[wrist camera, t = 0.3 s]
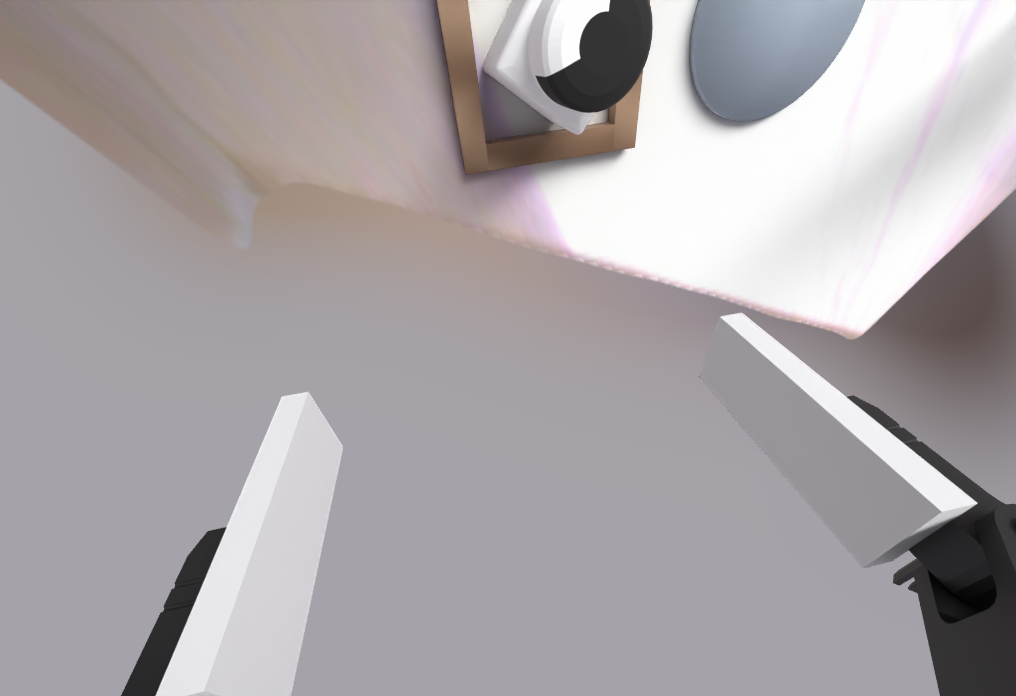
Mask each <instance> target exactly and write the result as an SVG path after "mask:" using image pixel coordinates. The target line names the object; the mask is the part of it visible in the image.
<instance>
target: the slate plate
mask: <svg viewBox="0 0 1016 696" xmlns="http://www.w3.org/2000/svg"><path fill="white" fill-rule="evenodd" d="M864 2H865V0H699V2H698V6H697V9H696V12H695V17H694V21H693V26H692V33H691V41H690V65H691V73H692V78H693V82H694V85H695V88H696V91H697V93H698V95H699V97H700V98H701V100H702V102H703V103H704V104H705V105H706V106H707V108H709V109H710V110H711V111H712V112H713V113H715V114H717V115H719V116H720V117H723V118H726V119H730V120H735V121H753V120H758V119H762V118H765V117H767V116H770V115H773V114H775V113H776V112H778V111H780V110H782V109H784V108H785V107H787V106H788V105H790V104H791V103H793V102H794V101H795V100H797V99H798V98H799V97H800V96H802V95H803V94H804V93H805V92H806V91H807V90H808V89H809V88H810V87H812V86H813V85H814V83H815V82H816V81H817V80H818V79H819V78H820V77H821V76H822V75H823V73H824V72H825V71H826V70H827V68H828V67H829V66H830V65H831V63H832V62H833V61H834V59H835V58H836V56H837V55H838V53H839V52H840V50H841V49H842V47H843V45H844V44H845V42H846V40H847V39H848V37H849V35H850V33H851V31H852V29H853V27H854V25H855V23H856V21H857V19H858V17H859V14H860V12H861V10H862V7H863V5H864Z"/></svg>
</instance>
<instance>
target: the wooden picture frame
mask: <svg viewBox="0 0 1016 696" xmlns="http://www.w3.org/2000/svg"><path fill="white" fill-rule="evenodd" d="M436 2H437V8H438V14H439V20H440V26H441V32H442V38H443V44H444V50H445V56H446V62H447V68H448V74H449V80H450V86H451V92H452V98H453V104H454V110H455V116H456V121H457V127H458V133H459V139H460V145H461V151H462V157H463V163H464V169H465V173H466V175H467V174H473V173H479V172H485V171H492V170H498V169H504V168H510V167H517V166H523V165H529V164H535V163H542V162H548V161H554V160H560V159H567V158H573V157H579V156H585V155H591V154H598V153H604V152H610V151H616V150H623V149H629V148H635V140H636V130H637V121H638V111H639V102H640V92H641V83H642V73H643V70H642V72H641V74H640V76H639V78H638V80H637V81H636V83H635V84H634V86H633V87H632V88H631V90H630V91H629V92H628V93H627V94H626V95H625V96H624V97H623V98H622V99H621V100H620V101H619V102H617V103H616V104H614V105H613V106H611V107H609V111H608V122H606V123H600V124H593V125H587V126H586V127H585V129H584V131H583V132H582V133H581V134H579V135H577V134H574V133H572V132H570V131H568V130H566V129H561V130H554V131H548V132H541V133H535V134H528V135H522V136H515V137H509V138H502V139H496V140H489V141H485V133H484V125H483V118H482V110H481V102H480V94H479V86H478V78H477V71H476V63H475V55H474V47H473V39H472V31H471V24H470V16H469V8H468V0H436ZM649 3H650V0H649Z"/></svg>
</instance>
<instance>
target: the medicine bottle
mask: <svg viewBox="0 0 1016 696" xmlns="http://www.w3.org/2000/svg"><path fill="white" fill-rule="evenodd" d="M651 39H652V13H651V7H650V3H649V0H512V1H511V4H510V6H509V8H508V10H507V13H506V15H505V17H504V19H503V21H502V24H501V26H500V28H499V30H498V33H497V35H496V37H495V39H494V41H493V44H492V46H491V48H490V50H489V53H488V55H487V57H486V59H485V61H484V64H483V69H484V71H485V72H486V73H487V74H489V75H490V76H491V77H493V78H494V79H495V80H497V81H498V82H499V83H501V84H502V85H503V86H504V87H506V88H507V89H508V90H510V91H511V92H512V93H514V94H515V95H516V96H518V97H519V98H520V99H522V100H523V101H524V102H526V103H527V104H528V105H530V106H531V107H532V108H533V109H535V110H536V111H537V112H539V113H540V114H541V115H543V116H544V117H545V118H547V119H548V120H549V121H551V122H552V123H554V124H556V125H558V126H560V127H562V128H564V129H566V130H568V131H570V132H572V133H574V134H577V135H579V134H581V133H582V132H583V131H584V129H585V127H586V126H587V124H588V123H589V121H590V119H591V118H592V116H593V114H594V113H595V112H599V111H602V110H605V109H607V108H609V107H611V106H613V105H614V104H616V103H617V102H619V101H620V100H621V99H622V98H623V97H624V96H625V95H626V94H627V93H628V92H629V91H630V90H631V88H632V87H633V86H634V84H635V83H636V81H637V80H638V78H639V76H640V74H641V72H642V70H643V68H644V66H645V63H646V60H647V58H648V54H649V50H650V46H651Z"/></svg>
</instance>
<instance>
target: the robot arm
mask: <svg viewBox="0 0 1016 696" xmlns="http://www.w3.org/2000/svg"><path fill="white" fill-rule="evenodd" d="M699 378H700V379H701V380H702V381H703V382H704V384H705V385H706V386H707V387H708V388H709V389H710V391H711V392H712V393H713V394H714V395H715V396H716V398H717V399H718V400H719V401H720V402H721V403H722V405H723V406H724V407H725V408H726V409H727V410H728V412H729V413H730V414H731V415H732V416H733V417H734V419H735V420H736V421H737V422H738V423H739V424H740V426H741V427H742V428H743V429H744V430H745V431H746V433H748V435H749V436H750V437H751V438H752V440H753V441H754V442H755V443H756V444H757V445H758V447H759V448H760V449H761V450H762V451H763V452H764V454H765V455H766V456H767V457H768V458H769V459H770V461H771V462H772V463H773V464H774V465H775V466H776V467H777V469H778V470H779V471H780V472H781V473H782V475H783V476H784V477H785V478H786V479H787V480H788V482H789V483H790V484H791V485H792V486H793V487H794V489H795V490H796V491H797V492H798V493H799V494H800V496H801V497H802V498H803V499H804V500H805V501H806V503H807V504H808V505H809V506H810V507H811V508H812V510H813V511H814V512H815V513H816V514H817V515H818V517H819V518H820V519H821V520H822V521H823V522H824V524H825V525H826V526H827V527H828V528H829V529H830V531H831V532H832V533H833V534H834V535H835V536H836V538H837V539H838V540H839V541H840V542H841V543H842V545H843V546H844V547H845V548H846V549H847V550H848V552H849V553H850V554H851V555H852V556H853V557H854V558H855V560H856V561H857V562H858V563H859V564H860V566H861V567H862V568H867V567H871V566H875V565H879V564H882V563H886V562H890V561H893V560H894V559H896V558H897V557H899V556H900V555H902V554H903V553H905V552H906V551H908V550H909V551H910V552H911V553H912V554H913V555H914V556H915V557H916V558H917V559H915V560H914V561H912V562H910V563H909V564H907V565H906V566H904V567H903V568H901V569H900V570H898V571H897V572H896V573H895V574H894V578H893V583H895V584H897V585H901V584H903V583H904V582H906V581H908V580H909V579H911V578H913V577H914V579H915V581H914V582H913V583H911V584H910V586H909V587H908V589H909V590H911V591H914V592H916V593H918V597H919V601H920V606H921V611H922V615H923V620H924V625H925V629H926V634H927V638H928V642H929V647H930V652H931V656H932V661H933V665H934V670H935V675H936V679H937V684H938V688H939V693H940V696H1016V504H1007V505H1006V504H1004V503H1002V502H1001V501H999V500H997V499H996V498H995V497H993V496H992V495H990V494H988V493H987V492H986V491H985V490H983V489H982V488H981V487H980V486H978V485H977V484H976V483H974V482H973V481H972V480H970V479H969V478H968V477H967V476H965V475H964V474H963V473H961V472H960V471H959V470H957V469H956V468H955V467H954V466H952V465H951V464H950V463H948V462H947V461H946V460H945V459H943V458H942V457H941V456H939V455H938V454H937V453H936V452H934V451H933V450H932V449H930V448H929V447H928V446H927V445H925V444H924V443H923V442H919V441H917V438H916V437H915V436H914V435H912V434H911V433H910V432H908V431H907V430H906V429H905V428H900V427H899V424H898V423H897V422H896V421H894V420H893V419H892V418H890V417H889V416H888V415H886V414H885V413H884V412H883V411H881V410H880V409H879V408H877V407H875V406H873V405H871V404H869V403H867V402H865V401H863V400H861V399H859V398H857V397H855V396H849V397H845V396H844V395H843V394H842V393H840V392H839V391H838V390H837V389H836V388H834V387H833V386H832V385H831V384H829V383H828V382H827V381H826V380H824V379H823V378H822V377H821V376H819V375H818V374H817V373H816V372H814V371H813V370H812V369H811V368H809V367H808V366H807V365H806V364H805V363H803V362H802V361H801V360H800V359H798V358H797V357H796V356H795V355H793V354H792V353H791V352H790V351H788V350H787V349H786V348H785V347H783V346H782V345H781V344H780V343H779V342H777V341H776V340H775V339H773V338H772V337H771V336H770V335H769V334H767V333H766V332H765V331H764V330H762V329H761V328H760V327H759V326H757V325H756V324H755V323H754V322H752V321H751V320H750V319H749V318H747V317H746V316H745V315H744V314H743V313H738V314H732V315H727V316H721V317H720V318H719V321H718V324H717V327H716V330H715V333H714V335H713V338H712V341H711V344H710V347H709V350H708V352H707V355H706V358H705V361H704V364H703V367H702V370H701V373H700V376H699ZM342 450H343V446H342V444H341V443H340V441H339V440H338V438H337V436H336V435H335V433H334V432H333V430H332V428H331V427H330V425H329V424H328V422H327V420H326V419H325V417H324V416H323V414H322V413H321V411H320V409H319V408H318V406H317V405H316V403H315V401H314V400H313V398H312V397H311V395H310V394H309V392H305V393H300V394H294V395H289V396H283V397H282V398H281V400H280V402H279V405H278V408H277V410H276V412H275V414H274V417H273V419H272V421H271V424H270V426H269V429H268V431H267V433H266V436H265V438H264V440H263V443H262V445H261V447H260V450H259V452H258V455H257V457H256V459H255V462H254V464H253V467H252V469H251V471H250V474H249V476H248V478H247V481H246V483H245V485H244V488H243V490H242V492H241V495H240V497H239V500H238V502H237V504H236V507H235V509H234V512H233V514H232V516H231V518H230V521H229V523H228V526H227V527H225V528H220V529H216V530H212V531H208V532H207V533H206V534H205V535H204V537H203V538H202V539H201V540H200V541H199V543H198V544H197V545H196V546H195V548H194V549H193V550H192V551H191V553H190V554H189V555H188V557H187V558H186V561H185V563H184V565H183V567H182V569H181V571H180V573H179V575H178V577H177V579H176V582H175V588H174V589H172V590H171V592H170V594H169V597H168V599H167V600H166V603H165V605H164V611H163V612H161V613H160V615H159V617H158V620H157V622H156V624H155V626H154V628H153V630H152V632H151V634H150V636H149V638H148V640H147V642H146V645H145V647H144V649H143V651H142V653H141V655H140V657H139V659H138V661H137V664H136V666H135V668H134V670H133V672H132V674H131V676H130V678H129V680H128V682H127V684H126V686H125V689H124V691H123V693H122V695H121V696H291V692H292V688H293V683H294V678H295V673H296V669H297V664H298V659H299V654H300V649H301V645H302V639H303V635H304V630H305V626H306V620H307V616H308V611H309V607H310V602H311V597H312V592H313V588H314V583H315V578H316V574H317V569H318V564H319V559H320V554H321V550H322V545H323V540H324V536H325V530H326V526H327V521H328V516H329V512H330V507H331V502H332V497H333V492H334V488H335V483H336V479H337V474H338V469H339V464H340V460H341V455H342Z"/></svg>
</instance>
